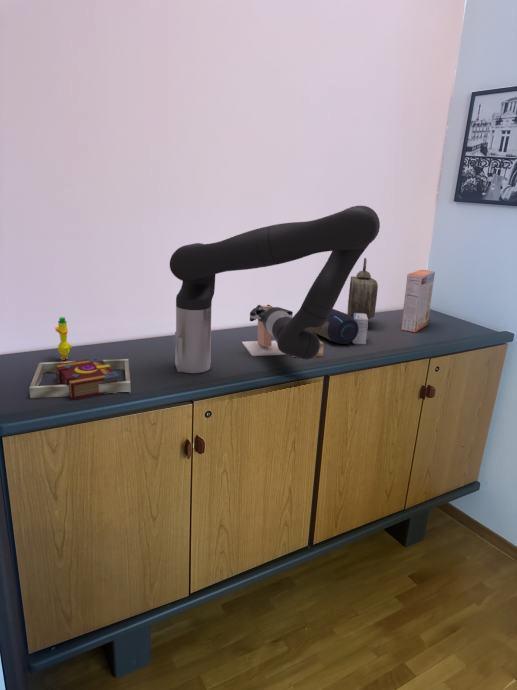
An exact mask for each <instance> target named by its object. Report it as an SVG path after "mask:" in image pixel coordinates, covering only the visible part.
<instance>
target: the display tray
mask: <svg viewBox="0 0 517 690" xmlns="http://www.w3.org/2000/svg"><path fill="white" fill-rule="evenodd" d="M102 360H103V361H104V363H105V364H106V365H108V364H109V365H110V366H111V369H112V370H113V369H120V370H124V375H125V376H124V377H125V380H124V381H117V382H109V383H104V384H99V393H100V392H107V393H113V394H118V393H117V392H129V393H131V389H132V388H131V375H130V364H129V363H130V362H129V358H119V359H102ZM75 361H76V360H72V361H69V360H68V361H50V362H39V363H38V365H37V368H36V370H35V373H34V376H33V378H32V381H31V383H30V386H29V389H28V390H29V397H30V399H39V398H41V397H42V399H44V398H45V397H46V398H58V397H61V398H62V397H70V391H69V385H59V384H53V385H51V384H49V385H48V384H47V385H41V382H42V379H43V376H44V374H45V373H44V372H56V365H55V364H61V363H68V362H75ZM113 371H114V370H113ZM43 373H44V374H43ZM39 385H40V386H39ZM43 397H44V398H43Z"/></svg>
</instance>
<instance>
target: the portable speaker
mask: <svg viewBox="0 0 517 690" xmlns="http://www.w3.org/2000/svg"><path fill="white" fill-rule="evenodd" d="M307 329H309V330H310V331H312V332H314V333H315V334H316V335H317V336H318V335H319V336H321V337H323V338H325V339H327V340H329V341H331V342H333V343H335V344H341V345H345V344H349V343H351V342H352V340H354V339H355V337H356V336H357V334H358V330H359V328H358V324H357V322H356V321H355V320H354V319H353V318H352V317H351V316H350V315H348V313H346V312H342V311H339V310H338V309H334V308H333V309H332V311H331V313H330V314H329V316H328V318H327V320H326V322H325V324H324V325H323V326H322V327H308V328H307Z"/></svg>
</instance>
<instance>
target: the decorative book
mask: <svg viewBox="0 0 517 690" xmlns="http://www.w3.org/2000/svg"><path fill="white" fill-rule="evenodd" d="M103 360H104V359H102V358H101V357H100V356H96V357H91V358H85V359H83V360H74V361H75V362H69V361H67V362H68V363H61V364H55V365H56V373H55V374H56V375H55V377H56V380H57V381H58V385H69V391H70V396H69V397H70V399H71V400H73V401H74V400H78V399H79V400H81V399H84V398H85V397H86V398H91V397H95V396H94V395H96V396H100V395H99V394H101V395H105V394H104V393H107V392H100V393H99V384H104V383H109V382H118V379H119V380H120V378H121V376H120V374H118V373H117V372H116V371H115V370H112V369H111V366H110V365H109V364H108V365H106V364H105V363H104V361H103ZM90 396H91V397H90ZM86 398H85V399H86Z"/></svg>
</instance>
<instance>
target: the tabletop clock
mask: <svg viewBox="0 0 517 690" xmlns="http://www.w3.org/2000/svg"><path fill="white" fill-rule="evenodd" d="M367 261H368V260H367V258H366V257H365V258H364V259H363V265H362V270H360V271H358V272H357V274H356V275H355V276H350V281H349V282H350V283H349V288H348V289H349V290H348V299H347V314H348V315H350V316H351V317H352V318H353V316H354V313H362V314H367V317H368V320H371V319H373V318H374V317H375V314H376V309H377V308H376V306H377V299H378V289H379V285H378V282H377V280H375V279H374V278H372V276H371V273H370V272H369V271H368V270H367Z"/></svg>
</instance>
